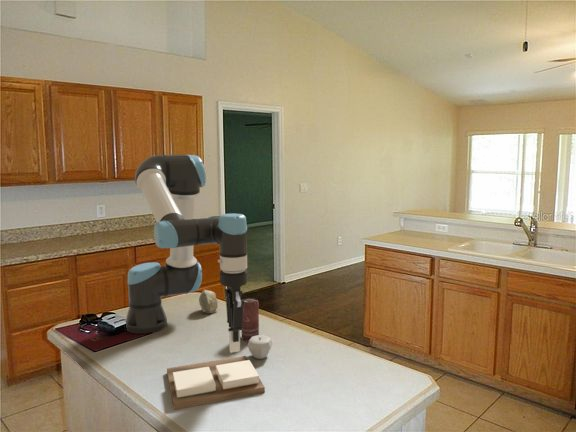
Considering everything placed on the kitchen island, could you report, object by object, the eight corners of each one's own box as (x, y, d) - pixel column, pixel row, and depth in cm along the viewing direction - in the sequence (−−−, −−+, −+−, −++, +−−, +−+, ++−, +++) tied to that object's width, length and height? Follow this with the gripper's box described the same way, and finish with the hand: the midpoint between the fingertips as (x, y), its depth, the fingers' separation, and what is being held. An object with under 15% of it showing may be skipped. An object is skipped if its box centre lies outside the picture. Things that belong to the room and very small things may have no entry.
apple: (274, 361, 138) (273, 341, 137) (248, 363, 137) (248, 343, 136) (270, 350, 146) (270, 331, 145) (246, 352, 144) (246, 332, 143)
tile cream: (215, 365, 127) (222, 382, 117) (249, 359, 130) (258, 375, 121) (215, 373, 127) (223, 390, 118) (249, 367, 130) (259, 384, 121)
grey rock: (209, 320, 178) (206, 301, 173) (194, 313, 182) (190, 294, 177) (224, 307, 185) (222, 288, 180) (209, 300, 189) (207, 282, 184)
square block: (172, 372, 123) (176, 390, 113) (208, 366, 126) (215, 383, 117) (173, 380, 123) (177, 399, 114) (208, 374, 126) (215, 392, 117)
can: (257, 342, 152) (256, 303, 150) (239, 340, 153) (238, 301, 151) (261, 335, 158) (261, 297, 156) (244, 333, 159) (244, 296, 157)
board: (167, 373, 130) (166, 368, 130) (245, 360, 138) (245, 355, 138) (174, 409, 112) (173, 404, 111) (264, 392, 120) (264, 387, 120)
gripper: (215, 265, 126) (217, 343, 130) (225, 277, 114) (226, 363, 118) (240, 263, 129) (242, 339, 132) (253, 274, 117) (253, 358, 120)
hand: (234, 350), depth 125 cm, fingers closed
